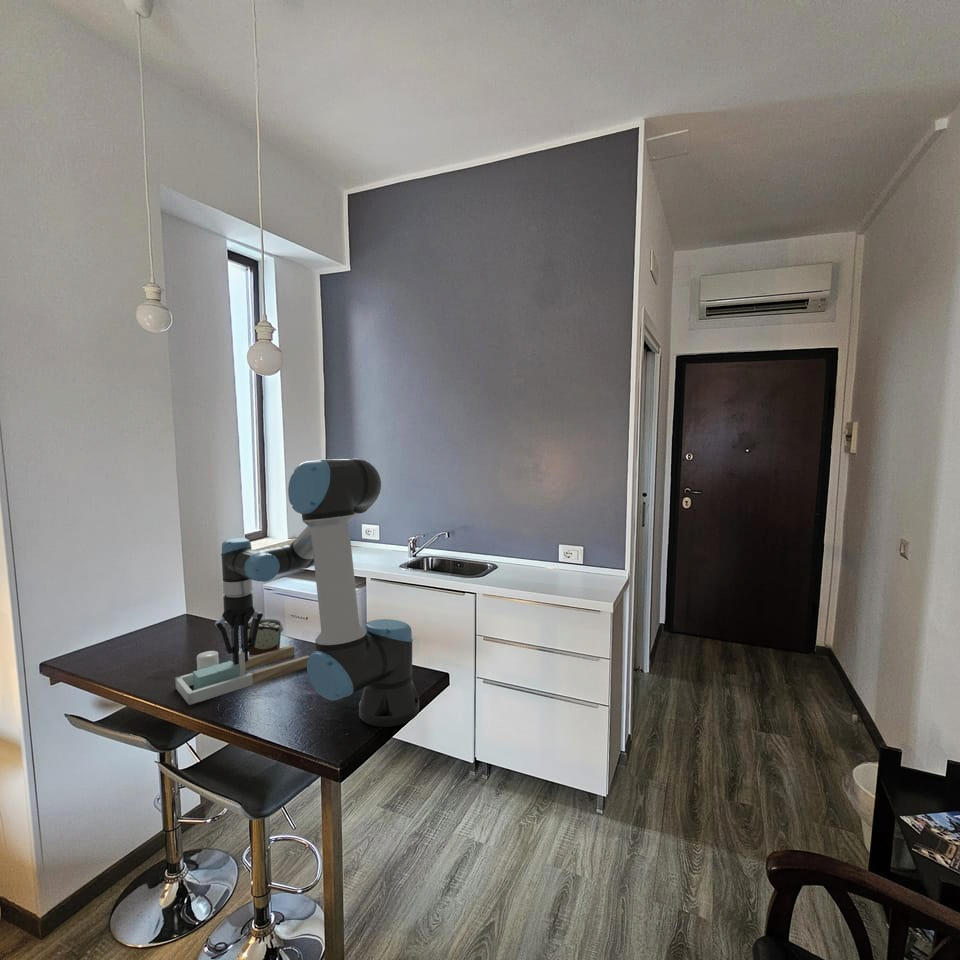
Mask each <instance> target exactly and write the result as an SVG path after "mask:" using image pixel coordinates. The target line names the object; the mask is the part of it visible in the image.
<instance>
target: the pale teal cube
mask: <svg viewBox="0 0 960 960" xmlns="http://www.w3.org/2000/svg"><path fill="white" fill-rule="evenodd" d="M192 673H193V684H194V685H193V690H197V689H200V688H203V687H207V686H210V685H213V684H217V683H219V676H218V671H217V670H216V669H215V668H214V667H213V666H211V667H207V668H204V669H200V670H197V669H196V670H193V671H192Z"/></svg>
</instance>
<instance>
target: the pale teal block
mask: <svg viewBox="0 0 960 960" xmlns="http://www.w3.org/2000/svg"><path fill="white" fill-rule="evenodd" d="M213 667H214V668H215V669H216V670H217V671H218V676H219V683H220V682H223V681H227V680H230V679H233V678H237V677H239V675H238V673H237V666H236V665H235V664H234V663H233V660H229V661H228V660H227V661H225V662H222V663H219V664H217V665H214V666H213Z"/></svg>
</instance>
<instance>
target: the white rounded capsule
mask: <svg viewBox="0 0 960 960" xmlns="http://www.w3.org/2000/svg"><path fill="white" fill-rule="evenodd" d="M217 664H220V662H219V652H218V651H216V650H208V651H204V652H200V653H199V654H197V655H196V671H197V670H200V669H204V668H207V667H211V666H214V665H217Z"/></svg>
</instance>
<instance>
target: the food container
mask: <svg viewBox="0 0 960 960" xmlns="http://www.w3.org/2000/svg"><path fill="white" fill-rule="evenodd" d="M251 623H252V621H249V622H248V638H249V633H250V628H251ZM283 632H284V627H283V623H282V622H281V621H280V620H277V619H273V618H269V619H268V618H265V619H264V618H263V619H261V620H260V622H259V627H258V632H257V637H256V641H255V646H254V647H253V648H250V649H249V652H248V657H252V656H255V655H259V654H262V653H266V652H269V651H273V650H277V649H280V647H281V634H282V633H283Z"/></svg>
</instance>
